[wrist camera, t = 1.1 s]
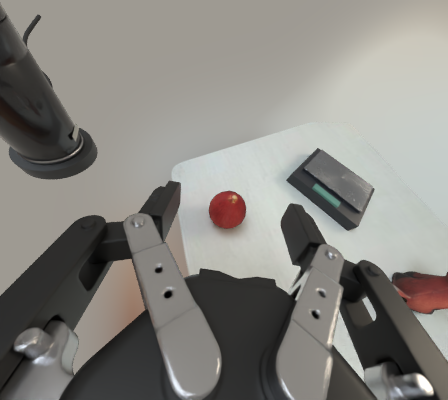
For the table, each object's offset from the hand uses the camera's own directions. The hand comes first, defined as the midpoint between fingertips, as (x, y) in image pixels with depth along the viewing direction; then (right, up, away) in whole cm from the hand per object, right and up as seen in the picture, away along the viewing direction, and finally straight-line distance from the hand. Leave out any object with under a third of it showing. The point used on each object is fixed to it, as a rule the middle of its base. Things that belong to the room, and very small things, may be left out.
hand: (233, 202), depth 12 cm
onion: (-1, -3, +17) cm, 18 cm away
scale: (+24, +3, +27) cm, 36 cm away
